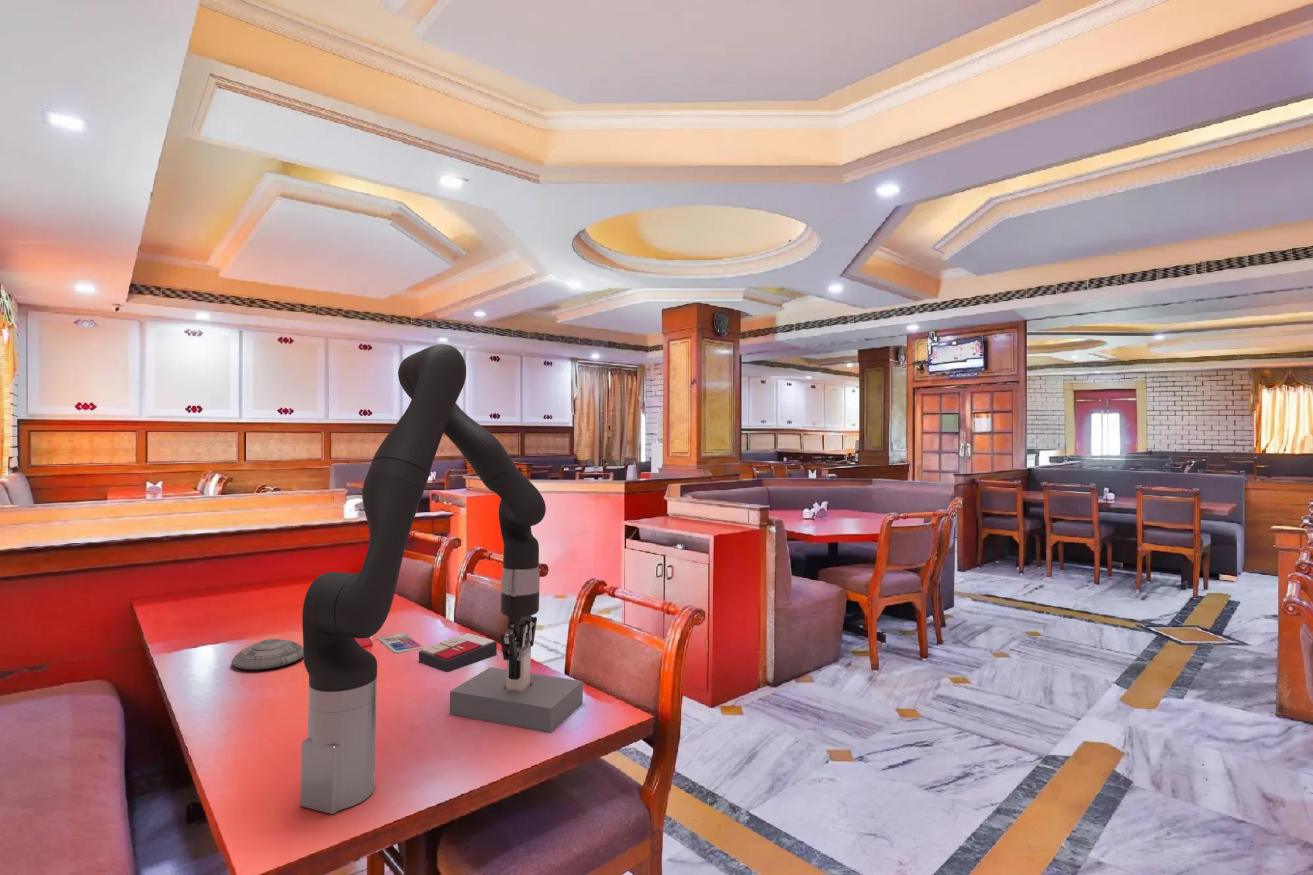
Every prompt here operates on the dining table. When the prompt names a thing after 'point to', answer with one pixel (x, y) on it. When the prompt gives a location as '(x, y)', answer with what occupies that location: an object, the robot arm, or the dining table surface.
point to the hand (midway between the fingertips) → (518, 674)
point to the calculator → (458, 652)
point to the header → (517, 700)
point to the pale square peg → (521, 672)
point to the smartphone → (400, 643)
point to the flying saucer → (268, 654)
